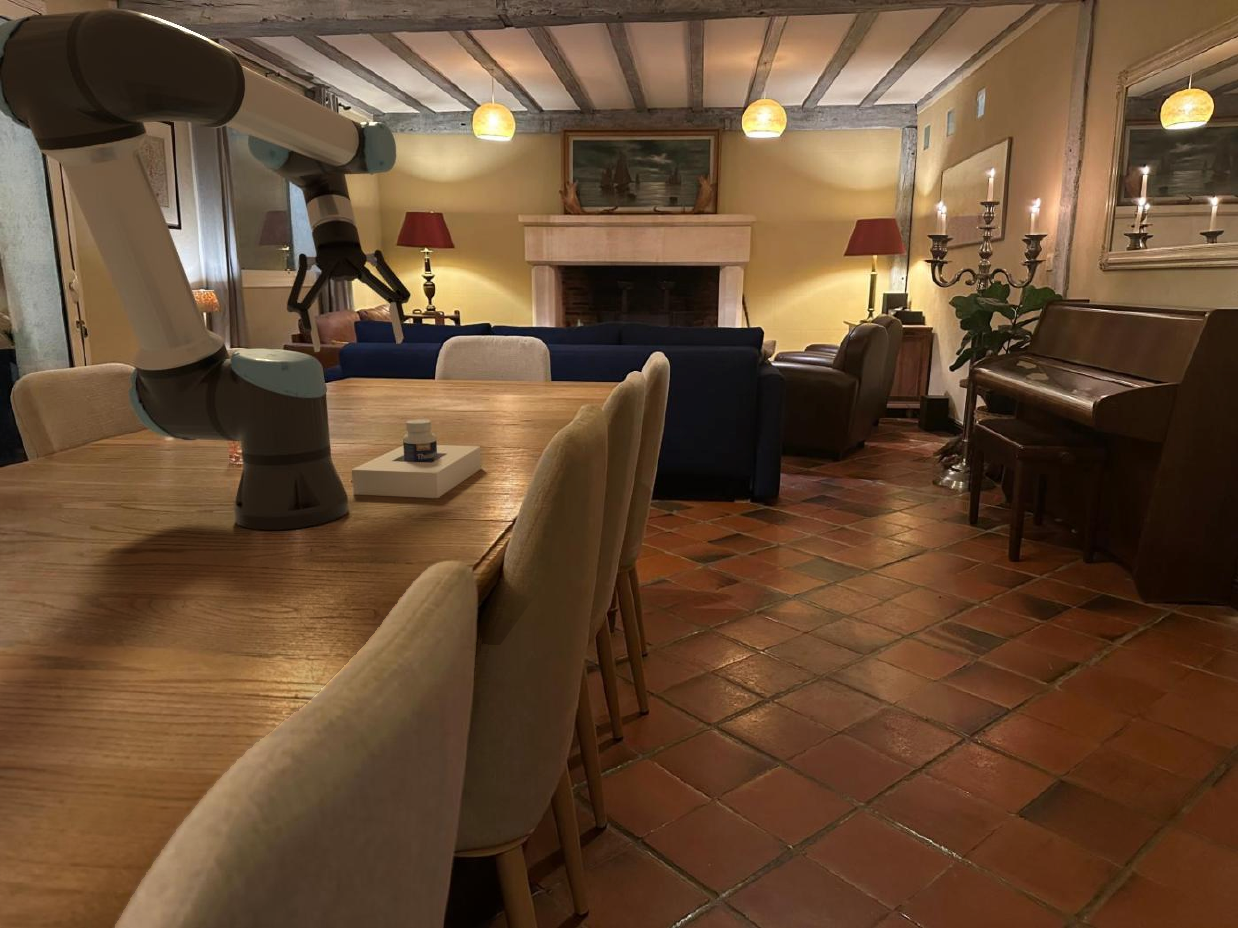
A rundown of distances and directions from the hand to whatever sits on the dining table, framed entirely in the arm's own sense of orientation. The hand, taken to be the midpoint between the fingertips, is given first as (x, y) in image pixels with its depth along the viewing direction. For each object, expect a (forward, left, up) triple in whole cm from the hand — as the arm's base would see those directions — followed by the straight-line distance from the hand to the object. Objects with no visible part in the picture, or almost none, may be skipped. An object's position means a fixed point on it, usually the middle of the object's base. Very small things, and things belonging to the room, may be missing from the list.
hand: (359, 345), depth 137 cm
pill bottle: (+11, -4, -22) cm, 25 cm away
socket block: (+11, -4, -22) cm, 25 cm away
